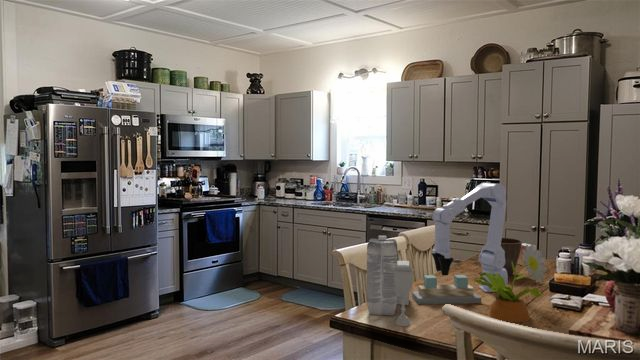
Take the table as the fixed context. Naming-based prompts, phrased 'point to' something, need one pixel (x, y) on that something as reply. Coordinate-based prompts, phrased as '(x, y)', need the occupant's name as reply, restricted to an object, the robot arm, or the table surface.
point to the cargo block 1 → (430, 281)
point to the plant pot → (511, 253)
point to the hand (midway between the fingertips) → (442, 272)
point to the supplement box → (399, 299)
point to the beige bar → (445, 291)
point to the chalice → (403, 290)
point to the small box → (521, 256)
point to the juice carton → (381, 276)
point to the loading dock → (445, 299)
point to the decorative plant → (506, 302)
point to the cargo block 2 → (460, 281)
